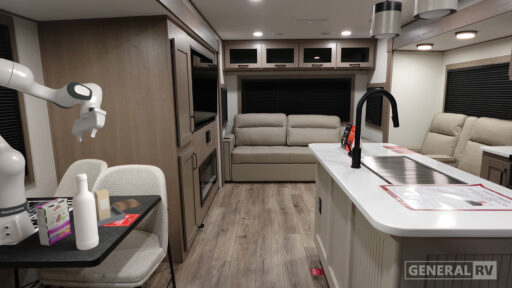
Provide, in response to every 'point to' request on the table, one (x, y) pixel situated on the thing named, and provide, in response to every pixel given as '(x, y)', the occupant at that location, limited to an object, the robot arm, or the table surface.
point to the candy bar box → (53, 221)
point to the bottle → (84, 215)
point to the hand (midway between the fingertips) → (85, 139)
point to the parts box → (102, 204)
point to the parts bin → (112, 216)
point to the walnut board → (126, 204)
